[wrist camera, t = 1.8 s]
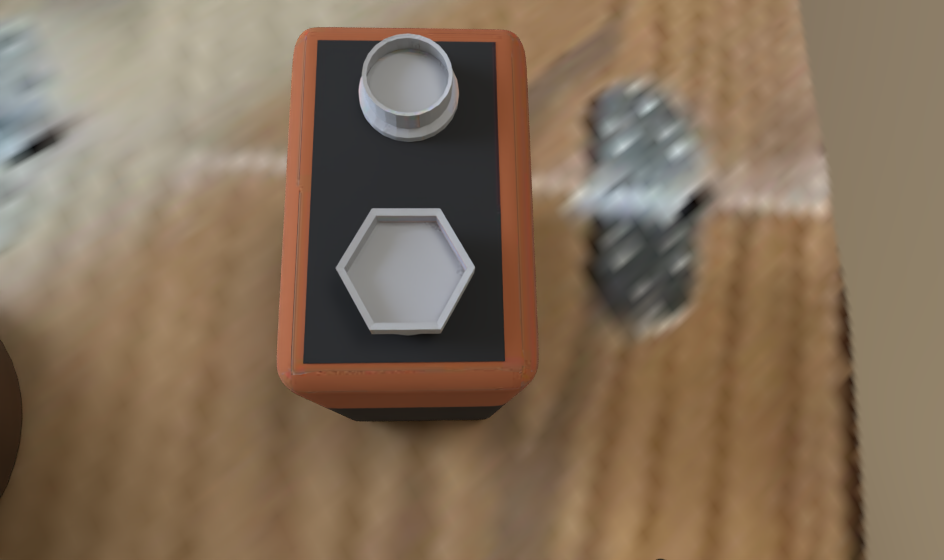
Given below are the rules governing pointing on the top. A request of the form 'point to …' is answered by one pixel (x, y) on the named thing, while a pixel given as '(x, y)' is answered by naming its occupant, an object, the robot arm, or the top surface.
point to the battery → (408, 224)
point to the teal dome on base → (8, 417)
